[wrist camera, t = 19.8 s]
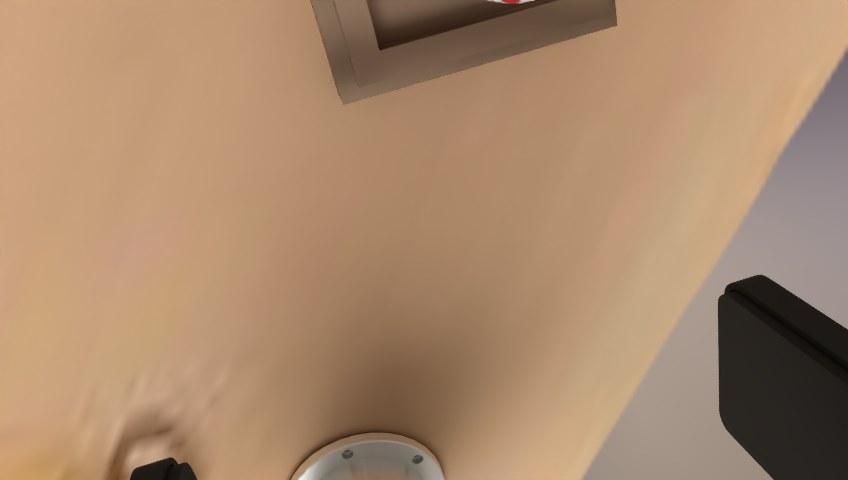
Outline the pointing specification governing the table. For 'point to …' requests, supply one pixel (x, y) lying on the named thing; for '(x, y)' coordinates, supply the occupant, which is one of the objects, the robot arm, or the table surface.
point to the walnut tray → (440, 36)
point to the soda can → (510, 1)
